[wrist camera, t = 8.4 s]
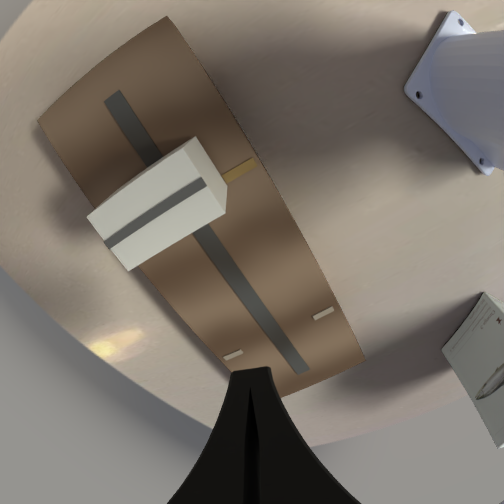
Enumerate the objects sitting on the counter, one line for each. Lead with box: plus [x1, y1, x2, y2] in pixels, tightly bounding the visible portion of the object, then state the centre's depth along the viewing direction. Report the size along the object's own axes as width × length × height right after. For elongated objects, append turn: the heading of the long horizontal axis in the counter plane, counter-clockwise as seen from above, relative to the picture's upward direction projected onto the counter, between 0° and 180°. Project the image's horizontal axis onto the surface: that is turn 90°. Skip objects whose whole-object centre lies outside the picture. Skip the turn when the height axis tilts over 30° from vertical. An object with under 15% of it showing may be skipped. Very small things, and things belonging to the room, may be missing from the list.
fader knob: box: [87, 136, 227, 271], centre depth 14 cm, size 3×5×4 cm, turn 120°
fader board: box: [37, 16, 366, 398], centre depth 19 cm, size 26×9×2 cm, turn 30°
